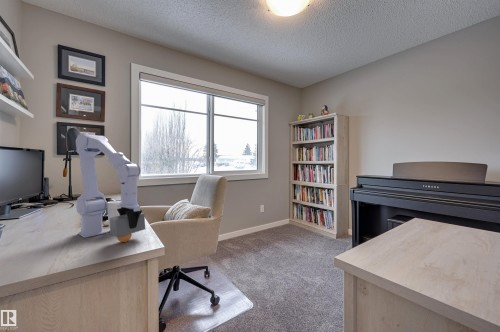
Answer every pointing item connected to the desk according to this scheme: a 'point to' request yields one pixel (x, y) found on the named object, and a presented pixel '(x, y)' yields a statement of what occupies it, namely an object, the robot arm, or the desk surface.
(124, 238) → the ball
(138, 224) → the grey rectangular brick
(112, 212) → the foam cup
